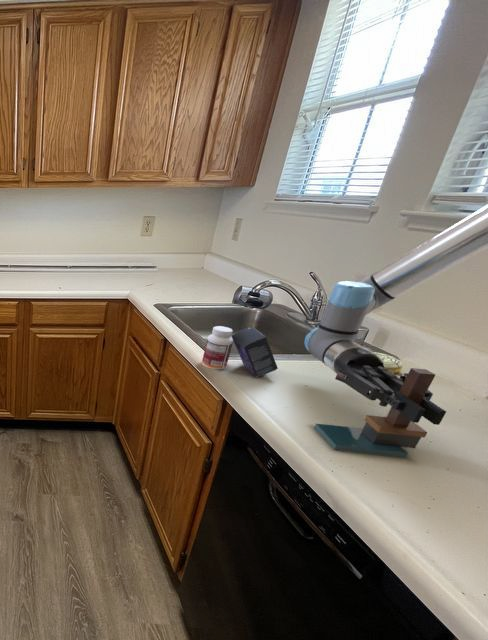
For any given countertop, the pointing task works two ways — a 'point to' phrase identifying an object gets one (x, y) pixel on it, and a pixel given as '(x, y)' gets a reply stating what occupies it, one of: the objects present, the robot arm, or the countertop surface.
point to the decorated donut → (389, 362)
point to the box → (254, 351)
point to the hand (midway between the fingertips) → (429, 416)
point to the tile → (355, 441)
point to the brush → (400, 415)
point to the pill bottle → (218, 348)
